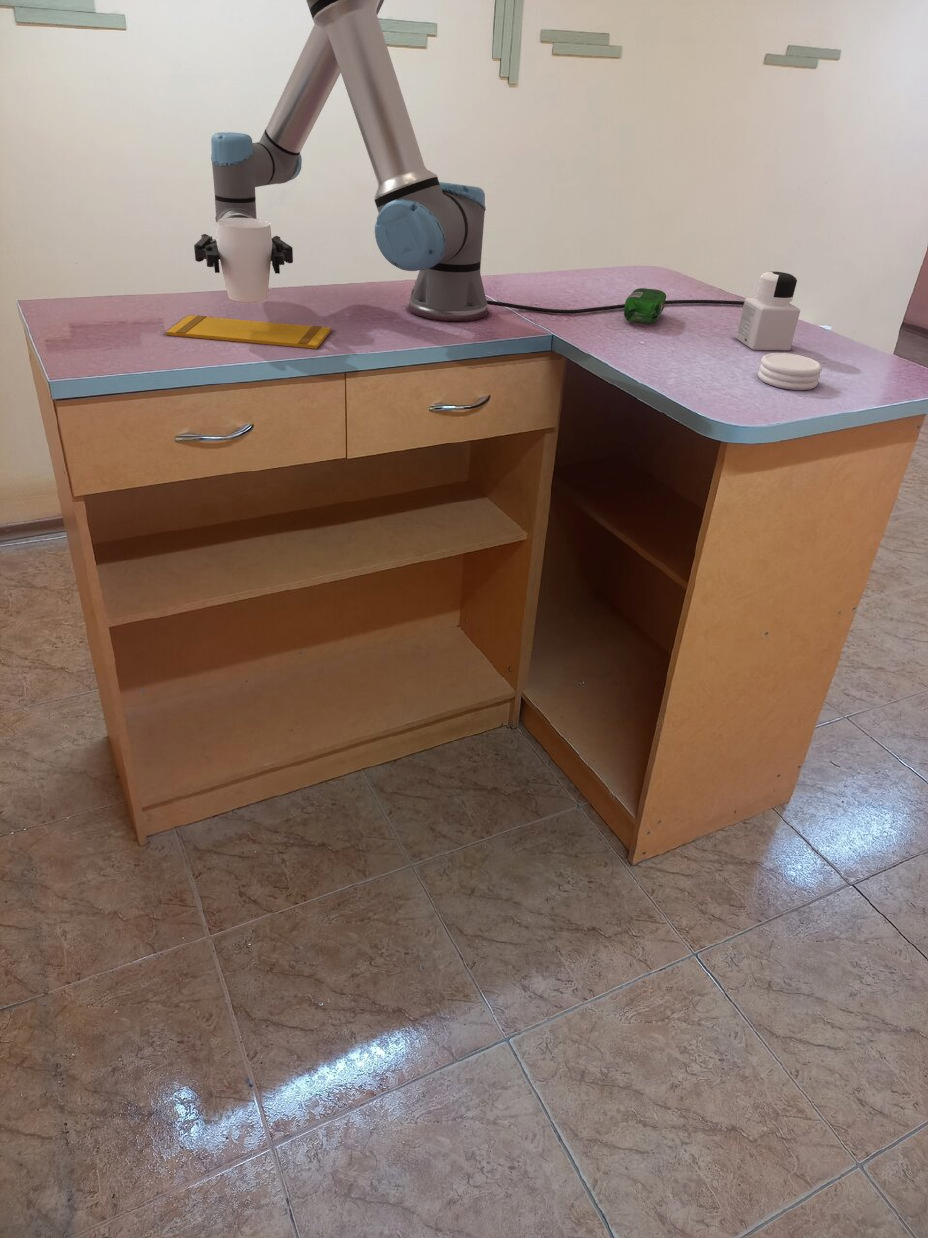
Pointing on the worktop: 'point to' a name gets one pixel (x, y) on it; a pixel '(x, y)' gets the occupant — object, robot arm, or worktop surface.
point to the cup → (245, 257)
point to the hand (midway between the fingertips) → (247, 264)
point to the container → (770, 314)
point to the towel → (250, 331)
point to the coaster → (789, 371)
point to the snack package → (644, 305)
